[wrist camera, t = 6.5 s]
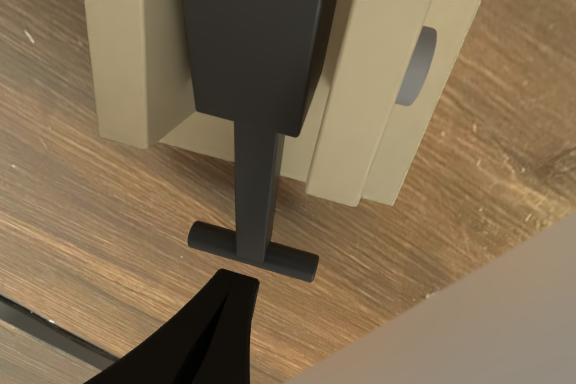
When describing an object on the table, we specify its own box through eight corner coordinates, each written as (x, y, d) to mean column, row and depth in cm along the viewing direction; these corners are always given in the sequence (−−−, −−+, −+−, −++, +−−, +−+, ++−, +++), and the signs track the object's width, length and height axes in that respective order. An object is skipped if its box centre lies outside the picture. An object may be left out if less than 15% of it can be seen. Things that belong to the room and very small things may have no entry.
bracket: (392, 192, 14) (401, 349, 8) (169, 132, 15) (35, 239, 9) (568, -228, 8) (1074, -744, 2) (171, -299, 8) (-249, -834, 3)
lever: (319, 249, 15) (306, 303, 14) (205, 216, 15) (181, 266, 14) (428, -46, 6) (423, 20, 5) (161, -104, 7) (84, -59, 5)
